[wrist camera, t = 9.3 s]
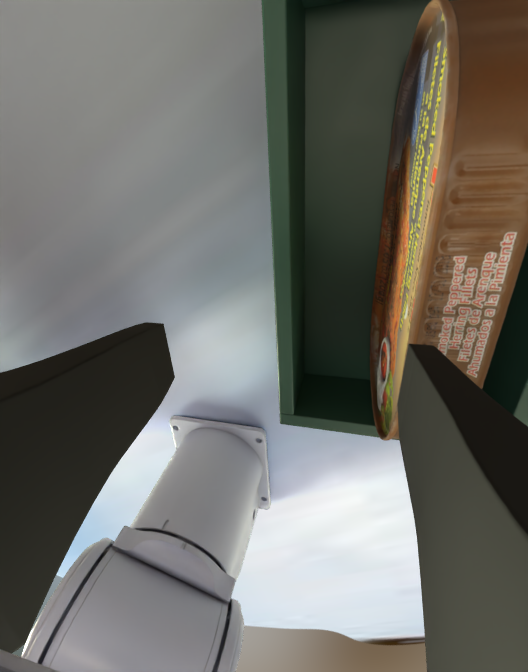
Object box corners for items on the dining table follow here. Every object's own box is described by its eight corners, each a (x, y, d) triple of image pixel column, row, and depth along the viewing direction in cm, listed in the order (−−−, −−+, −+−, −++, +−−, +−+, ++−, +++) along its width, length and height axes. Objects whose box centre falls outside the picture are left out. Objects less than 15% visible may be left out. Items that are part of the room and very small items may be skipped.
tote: (487, 396, 20) (516, 457, 16) (294, 376, 23) (279, 424, 19) (645, -73, 11) (798, -188, 7) (288, -10, 14) (257, -69, 10)
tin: (401, 41, 13) (445, -72, 6) (493, 30, 12) (664, -114, 5) (365, 364, 21) (366, 483, 13) (421, 369, 20) (454, 498, 13)
